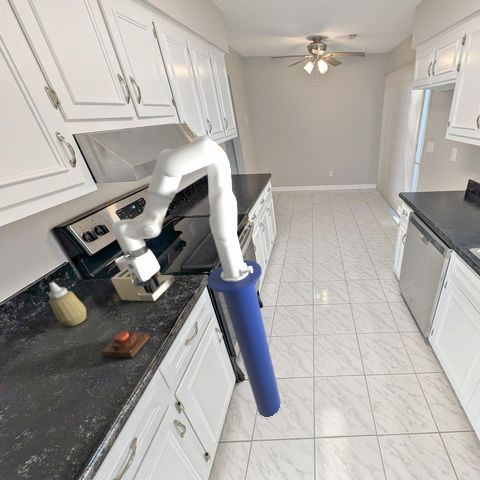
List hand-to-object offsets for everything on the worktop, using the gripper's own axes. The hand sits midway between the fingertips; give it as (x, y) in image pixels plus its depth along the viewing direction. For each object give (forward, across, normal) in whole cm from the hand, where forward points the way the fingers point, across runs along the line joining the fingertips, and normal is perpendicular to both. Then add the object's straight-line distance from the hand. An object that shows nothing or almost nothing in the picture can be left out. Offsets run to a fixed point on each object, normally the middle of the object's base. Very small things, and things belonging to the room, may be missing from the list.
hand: (153, 288), depth 105 cm
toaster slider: (+1, 0, 0) cm, 1 cm away
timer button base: (+4, -25, -8) cm, 26 cm away
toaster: (+4, +4, +6) cm, 8 cm away
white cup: (+4, +14, +22) cm, 27 cm away
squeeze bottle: (+4, -15, +22) cm, 27 cm away
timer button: (0, -25, -8) cm, 26 cm away
